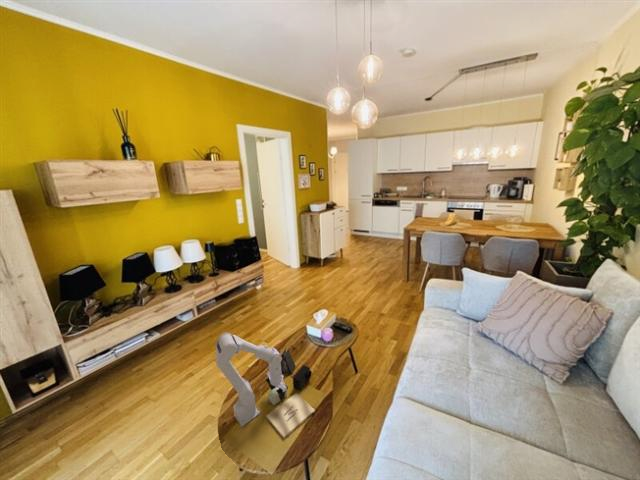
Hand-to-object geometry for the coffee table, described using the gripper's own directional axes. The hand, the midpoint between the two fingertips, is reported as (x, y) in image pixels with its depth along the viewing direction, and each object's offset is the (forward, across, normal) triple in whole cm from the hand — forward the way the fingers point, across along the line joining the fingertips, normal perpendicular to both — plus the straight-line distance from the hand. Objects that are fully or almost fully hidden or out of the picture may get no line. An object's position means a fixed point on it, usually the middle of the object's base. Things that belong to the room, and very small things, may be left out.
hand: (277, 394), depth 131 cm
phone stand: (+3, +13, -15) cm, 20 cm away
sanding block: (+3, 0, 0) cm, 3 cm away
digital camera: (+3, -2, -15) cm, 15 cm away
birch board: (+2, -12, +1) cm, 12 cm away
